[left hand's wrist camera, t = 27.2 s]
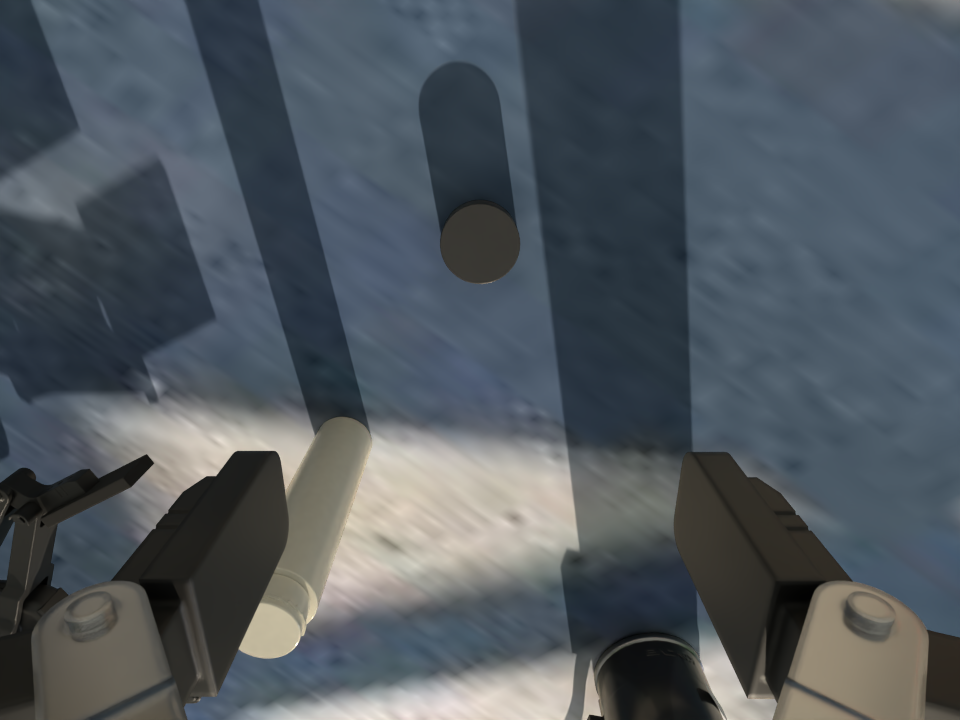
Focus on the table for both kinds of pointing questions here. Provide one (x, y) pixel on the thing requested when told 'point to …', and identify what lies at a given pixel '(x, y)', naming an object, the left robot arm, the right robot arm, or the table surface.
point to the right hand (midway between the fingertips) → (206, 548)
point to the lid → (480, 242)
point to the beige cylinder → (310, 536)
